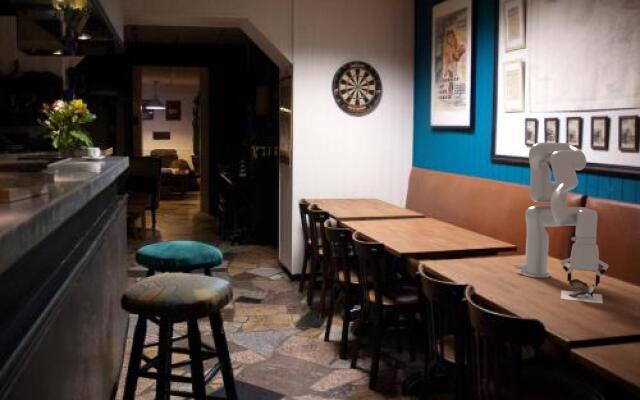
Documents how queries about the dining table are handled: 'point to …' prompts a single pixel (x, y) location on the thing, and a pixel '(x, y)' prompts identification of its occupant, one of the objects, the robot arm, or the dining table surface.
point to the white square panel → (582, 297)
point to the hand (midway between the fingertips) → (583, 284)
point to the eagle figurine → (582, 286)
